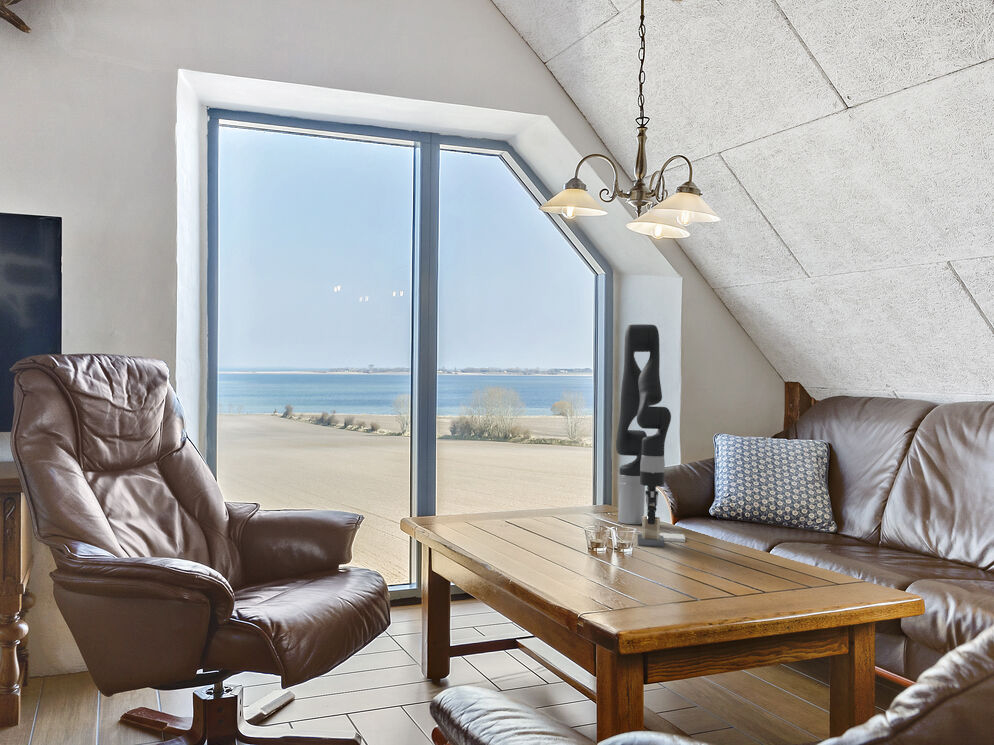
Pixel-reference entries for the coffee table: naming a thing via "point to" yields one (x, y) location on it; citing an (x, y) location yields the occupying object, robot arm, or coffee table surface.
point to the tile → (673, 537)
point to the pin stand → (650, 541)
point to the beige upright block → (650, 529)
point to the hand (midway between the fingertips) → (651, 521)
